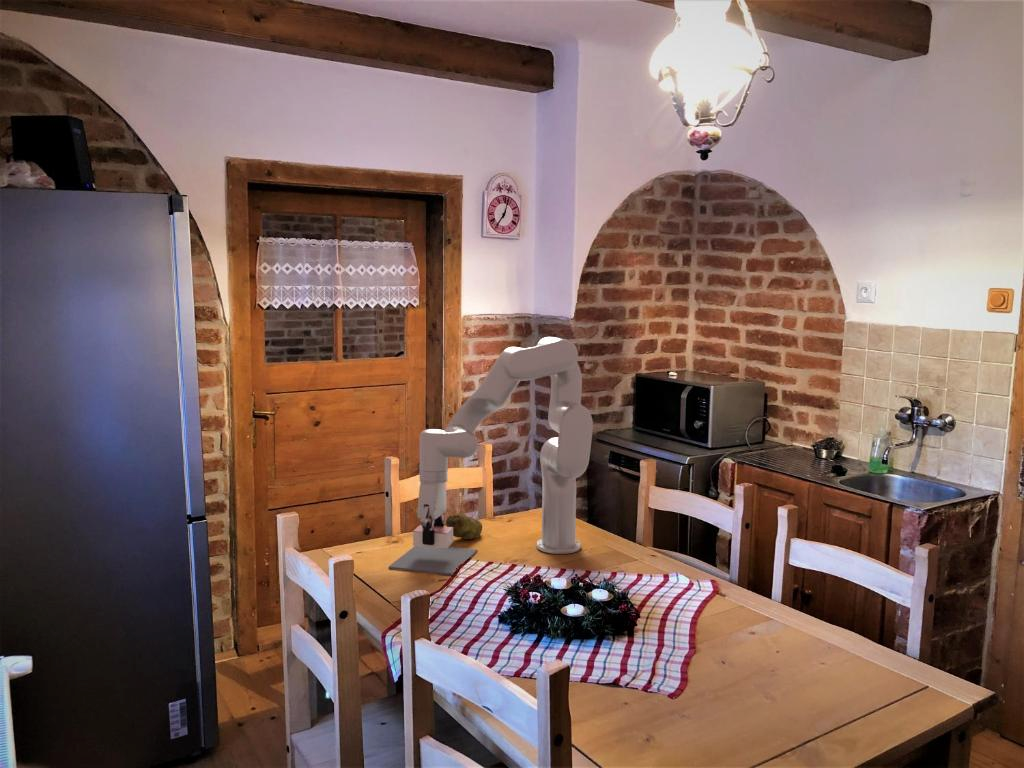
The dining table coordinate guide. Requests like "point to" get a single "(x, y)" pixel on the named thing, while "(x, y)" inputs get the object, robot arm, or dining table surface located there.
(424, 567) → the mat
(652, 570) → the dining table surface
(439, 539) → the card box
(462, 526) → the olive green lumpy rock
